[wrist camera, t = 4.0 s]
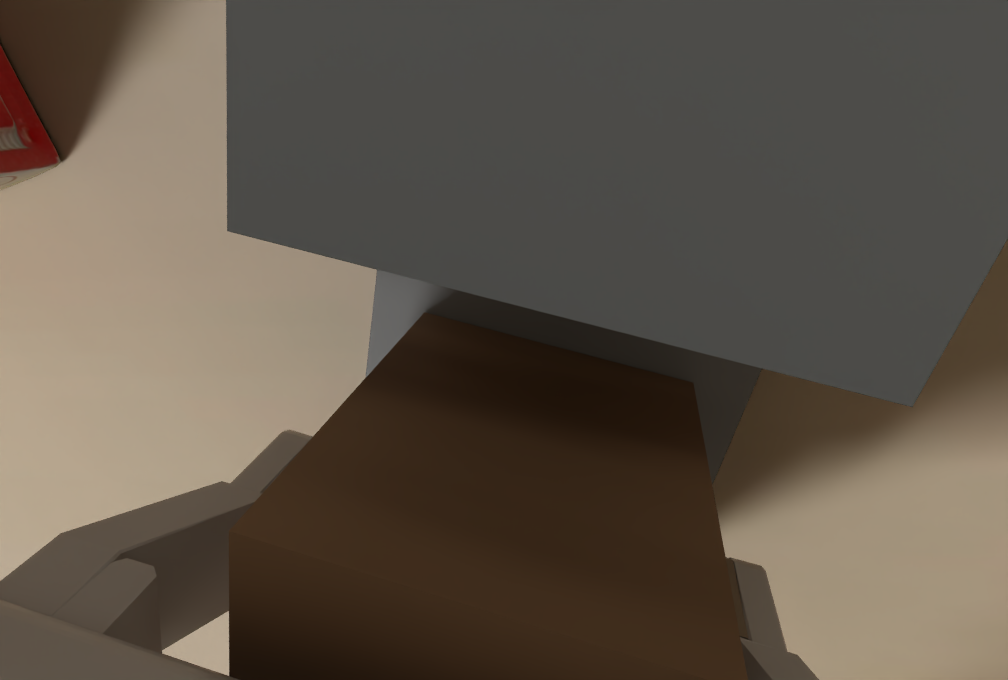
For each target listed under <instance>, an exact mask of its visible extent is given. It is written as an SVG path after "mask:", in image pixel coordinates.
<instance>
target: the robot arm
mask: <svg viewBox="0 0 1008 680" xmlns="http://www.w3.org/2000/svg"><path fill="white" fill-rule="evenodd" d="M311 439H312V436H309V435H305V434H302V433H299V432H296V431H292V430H287V431H284V432H282V433H280V434H279V435H278V436H277V437H276V438H275V439H274V440H273V441H272V442H271V443H270V444H269V445H268V446H267V447H266V448H265V449H264V450H263V451H262V452H261V453H260V454H259V455H258V456H257V457H256V458H255V459H254V460H253V461H252V462H251V463H250V464H249V465H248V466H247V467H246V468H245V469H244V470H243V471H242V472H241V473H240V474H239V475H238V476H237V477H236V478H235V479H234V480H233V481H232V482H231V483H226V482H223V481H221V482H218V483H215V484H212V485H209V486H206V487H203V488H200V489H197V490H194V491H190V492H187V493H184V494H181V495H178V496H175V497H172V498H169V499H166V500H163V501H160V502H157V503H153V504H150V505H147V506H144V507H141V508H138V509H135V510H132V511H129V512H126V513H123V514H119V515H116V516H113V517H110V518H107V519H104V520H101V521H98V522H95V523H92V524H89V525H85V526H82V527H79V528H76V529H73V530H70V531H67V532H64V533H61V534H59V535H58V536H57V537H56V538H54V539H53V540H52V541H51V542H49V543H48V544H47V545H46V546H44V547H43V548H42V549H40V550H39V551H38V552H37V553H35V554H34V555H33V556H32V557H30V558H29V559H28V560H27V561H25V562H24V563H23V564H21V565H20V566H19V567H18V568H16V569H15V570H14V571H13V572H11V573H10V574H9V575H8V576H6V577H5V578H4V579H3V580H1V581H0V680H239V679H236V678H233V677H230V676H227V675H224V674H221V673H218V672H215V671H212V670H209V669H206V668H203V667H200V666H197V665H194V664H191V663H188V662H185V661H182V660H179V659H176V658H173V657H171V656H168V655H165V654H162V650H163V649H165V648H167V647H168V646H170V645H172V644H173V643H175V642H177V641H178V640H180V639H182V638H184V637H185V636H187V635H189V634H190V633H192V632H194V631H195V630H197V629H199V628H200V627H202V626H204V625H205V624H207V623H209V622H210V621H212V620H214V619H215V618H217V617H219V616H220V615H222V614H224V613H225V612H227V611H229V530H230V529H231V528H232V527H233V526H234V525H235V524H236V522H237V521H238V520H239V519H240V518H241V517H242V516H243V515H244V513H245V512H246V511H247V510H248V509H249V508H250V507H251V506H252V505H253V503H254V502H255V501H256V500H257V499H258V498H259V497H260V496H261V494H262V493H263V492H264V491H265V490H266V489H267V488H268V487H269V486H270V484H271V483H272V482H273V481H274V480H275V479H276V478H277V477H278V475H279V474H280V473H281V472H282V471H283V470H284V469H285V468H286V466H287V465H288V464H289V463H290V462H291V461H292V460H293V459H294V458H295V456H296V455H297V454H298V453H299V452H300V451H301V450H302V449H303V447H304V446H305V445H306V444H307V443H308V442H309V441H310V440H311ZM725 558H726V563H727V569H728V574H729V580H730V585H731V590H732V596H733V601H734V607H735V612H736V618H737V623H738V629H739V634H740V639H741V645H742V650H743V656H744V661H745V667H746V672H747V678H748V680H819V679H818V678H817V677H816V676H815V674H814V673H813V672H812V671H811V670H810V669H809V668H808V666H807V665H806V664H805V663H804V662H803V661H802V660H801V658H800V657H799V656H798V655H796V654H793V653H790V652H787V648H786V644H785V641H784V637H783V633H782V630H781V626H780V622H779V619H778V615H777V611H776V607H775V604H774V600H773V596H772V593H771V589H770V585H769V582H768V578H767V574H766V571H765V570H764V568H763V567H762V566H760V565H757V564H753V563H749V562H745V561H741V560H738V559H734V558H727V557H725Z"/></svg>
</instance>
